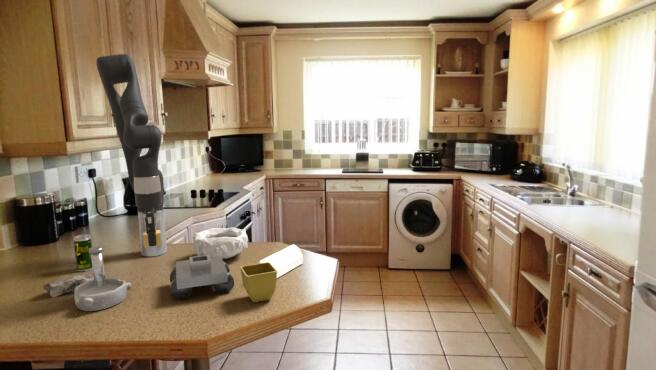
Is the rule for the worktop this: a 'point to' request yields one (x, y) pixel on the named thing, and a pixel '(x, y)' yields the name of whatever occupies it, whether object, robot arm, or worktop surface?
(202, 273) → the dolly
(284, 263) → the white faceted prism
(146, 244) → the pale yellow block
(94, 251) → the pin
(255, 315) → the worktop surface
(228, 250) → the bowl
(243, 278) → the flower pot
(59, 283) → the mineral rock
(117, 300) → the dish
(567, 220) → the worktop surface
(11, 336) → the worktop surface
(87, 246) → the beer can
